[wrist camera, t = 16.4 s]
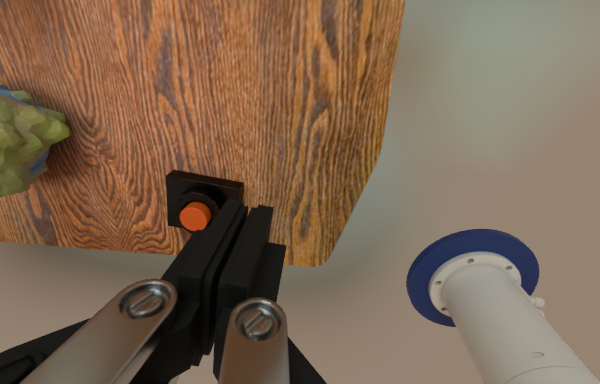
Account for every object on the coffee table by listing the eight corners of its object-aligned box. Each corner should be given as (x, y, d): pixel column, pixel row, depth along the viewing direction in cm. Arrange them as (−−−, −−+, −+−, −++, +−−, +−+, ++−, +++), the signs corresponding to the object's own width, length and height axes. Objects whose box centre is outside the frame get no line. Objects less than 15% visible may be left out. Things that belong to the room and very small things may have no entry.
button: (212, 203, 37) (207, 210, 36) (211, 226, 39) (206, 233, 37) (185, 199, 37) (179, 205, 36) (185, 221, 39) (179, 228, 37)
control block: (243, 182, 40) (236, 195, 36) (239, 229, 43) (232, 245, 40) (173, 169, 40) (158, 180, 36) (174, 217, 43) (161, 232, 39)
